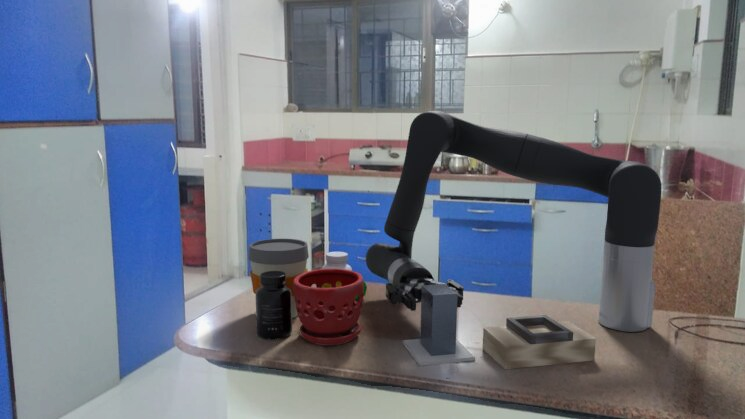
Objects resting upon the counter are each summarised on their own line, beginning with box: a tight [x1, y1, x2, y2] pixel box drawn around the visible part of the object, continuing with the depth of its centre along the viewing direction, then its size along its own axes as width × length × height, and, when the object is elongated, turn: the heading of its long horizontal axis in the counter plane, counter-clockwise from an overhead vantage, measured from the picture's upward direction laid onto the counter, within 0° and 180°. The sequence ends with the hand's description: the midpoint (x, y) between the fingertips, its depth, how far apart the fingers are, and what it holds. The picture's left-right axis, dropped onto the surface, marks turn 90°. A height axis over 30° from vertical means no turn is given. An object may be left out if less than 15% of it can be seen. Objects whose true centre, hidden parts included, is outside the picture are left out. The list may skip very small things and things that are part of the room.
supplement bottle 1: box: [255, 271, 293, 341], centre depth 110 cm, size 7×7×12 cm
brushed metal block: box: [419, 283, 458, 356], centre depth 103 cm, size 4×6×11 cm
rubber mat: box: [402, 338, 476, 366], centre depth 104 cm, size 10×10×1 cm
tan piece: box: [482, 314, 597, 370], centre depth 102 cm, size 17×9×6 cm, turn 104°
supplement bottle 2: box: [321, 251, 353, 288], centre depth 123 cm, size 7×7×13 cm
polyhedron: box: [355, 280, 368, 301], centre depth 133 cm, size 5×5×5 cm
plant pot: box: [293, 268, 364, 346], centre depth 109 cm, size 13×13×12 cm
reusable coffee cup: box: [248, 238, 310, 319], centre depth 122 cm, size 13×13×15 cm
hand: (437, 303), depth 103 cm, fingers open, 8 cm apart
